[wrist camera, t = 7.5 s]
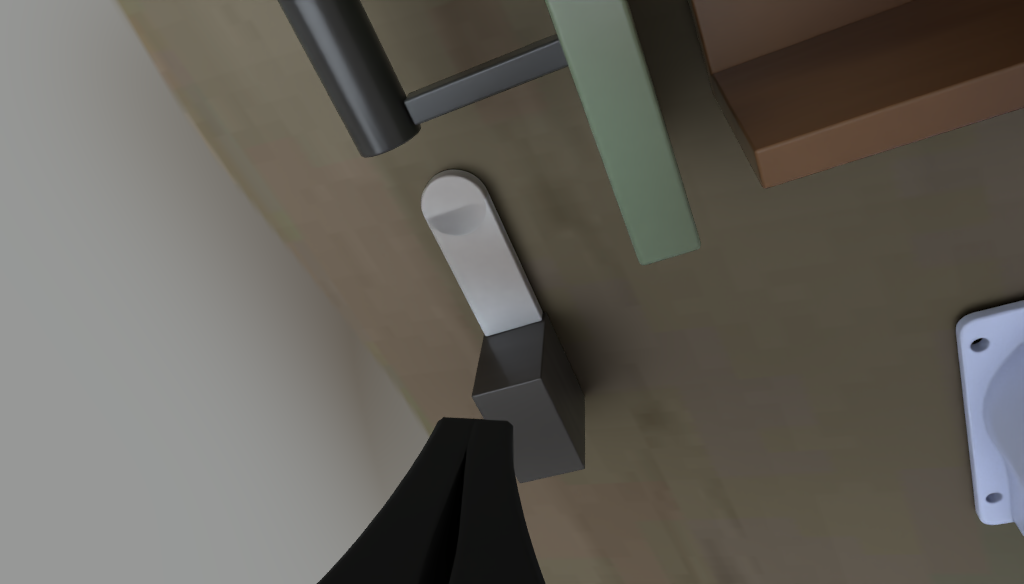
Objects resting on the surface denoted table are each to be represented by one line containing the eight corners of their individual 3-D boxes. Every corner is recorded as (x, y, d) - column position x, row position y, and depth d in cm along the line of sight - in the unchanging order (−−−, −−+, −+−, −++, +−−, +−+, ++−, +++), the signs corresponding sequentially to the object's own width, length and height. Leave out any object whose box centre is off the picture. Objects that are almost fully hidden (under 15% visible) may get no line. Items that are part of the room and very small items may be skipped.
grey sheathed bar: (585, 397, 25) (585, 469, 22) (526, 412, 25) (519, 484, 22) (476, 158, 20) (459, 209, 17) (409, 182, 21) (381, 236, 18)
